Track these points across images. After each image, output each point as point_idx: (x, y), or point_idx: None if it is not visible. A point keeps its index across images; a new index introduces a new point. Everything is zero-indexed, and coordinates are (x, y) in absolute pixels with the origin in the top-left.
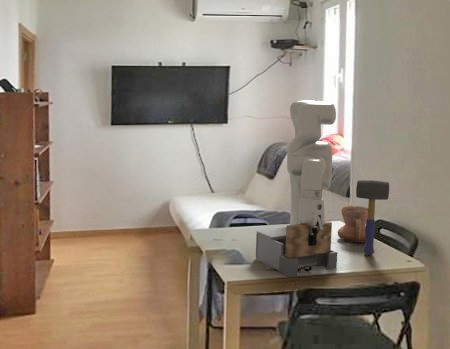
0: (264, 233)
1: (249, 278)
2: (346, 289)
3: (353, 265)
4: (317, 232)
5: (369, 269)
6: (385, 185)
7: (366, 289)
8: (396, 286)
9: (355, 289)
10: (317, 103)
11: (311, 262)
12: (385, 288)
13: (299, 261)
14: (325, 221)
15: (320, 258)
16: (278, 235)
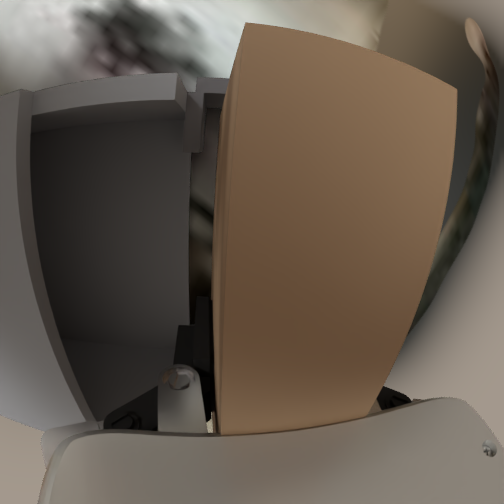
0: (30, 423)
1: (211, 430)
2: (440, 263)
3: (295, 11)
4: (379, 395)
5: (367, 13)
6: None
7: (470, 211)
8: (492, 118)
9: (454, 239)
10: None
11: (177, 184)
12: (488, 158)
13: (136, 231)
14: (306, 126)
15: (202, 141)
16: (67, 411)
